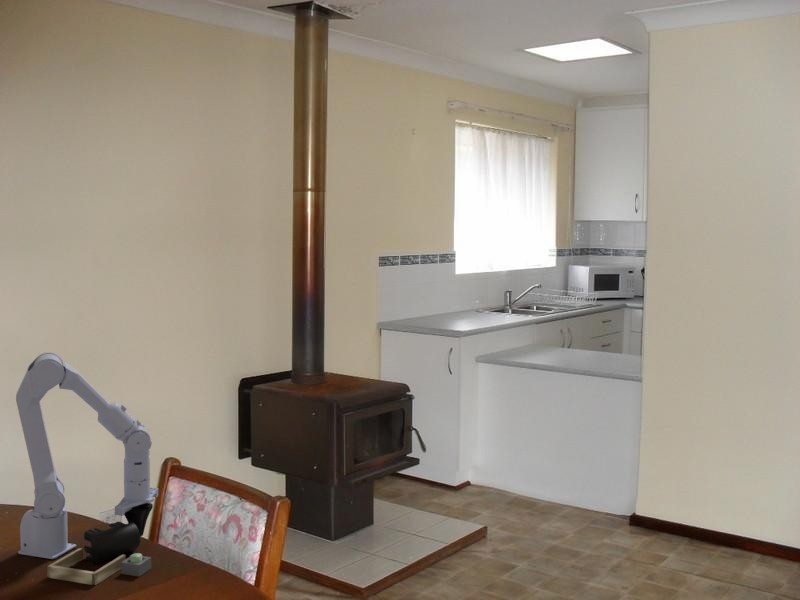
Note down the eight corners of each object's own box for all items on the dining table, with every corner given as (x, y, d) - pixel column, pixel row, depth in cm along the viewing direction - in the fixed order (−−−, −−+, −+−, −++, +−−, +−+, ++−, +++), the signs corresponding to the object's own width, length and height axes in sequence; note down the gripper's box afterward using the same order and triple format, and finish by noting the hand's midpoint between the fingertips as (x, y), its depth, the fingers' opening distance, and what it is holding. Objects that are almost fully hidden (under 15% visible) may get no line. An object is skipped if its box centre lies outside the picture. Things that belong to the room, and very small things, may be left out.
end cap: (99, 568, 183) (99, 537, 182) (82, 559, 188) (82, 529, 187) (141, 554, 191) (140, 525, 190) (123, 546, 195) (123, 517, 195)
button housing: (121, 573, 180) (121, 562, 180) (133, 565, 184) (133, 554, 184) (139, 576, 179) (139, 565, 179) (151, 568, 183) (151, 557, 183)
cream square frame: (47, 577, 178) (47, 566, 177) (79, 558, 188) (79, 548, 187) (95, 585, 174) (95, 574, 174) (125, 565, 184) (125, 555, 184)
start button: (128, 571, 181) (127, 556, 181) (134, 567, 183) (134, 552, 183) (137, 572, 180) (137, 558, 180) (144, 568, 183) (144, 554, 182)
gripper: (133, 489, 189) (134, 549, 190) (169, 471, 203) (169, 527, 204) (106, 486, 191) (106, 545, 192) (143, 468, 205) (143, 523, 206)
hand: (137, 535), depth 198 cm, fingers closed
